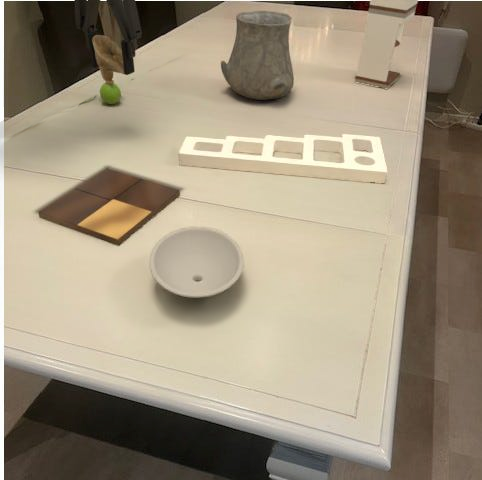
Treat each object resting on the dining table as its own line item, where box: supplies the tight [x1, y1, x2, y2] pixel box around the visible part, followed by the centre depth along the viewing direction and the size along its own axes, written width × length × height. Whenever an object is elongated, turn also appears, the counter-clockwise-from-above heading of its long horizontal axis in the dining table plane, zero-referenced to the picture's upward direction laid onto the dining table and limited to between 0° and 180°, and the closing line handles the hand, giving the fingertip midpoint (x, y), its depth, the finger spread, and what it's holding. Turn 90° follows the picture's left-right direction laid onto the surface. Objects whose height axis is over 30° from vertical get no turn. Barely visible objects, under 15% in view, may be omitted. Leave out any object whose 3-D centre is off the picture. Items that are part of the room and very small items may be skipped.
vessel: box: [220, 10, 295, 101], centre depth 133 cm, size 22×22×20 cm
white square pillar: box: [354, 0, 419, 90], centre depth 141 cm, size 11×11×35 cm
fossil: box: [92, 34, 125, 75], centre depth 105 cm, size 9×4×10 cm
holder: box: [178, 133, 388, 184], centre depth 111 cm, size 45×18×3 cm, turn 83°
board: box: [37, 167, 181, 246], centre depth 92 cm, size 18×20×1 cm
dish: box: [148, 225, 245, 299], centre depth 75 cm, size 18×14×5 cm
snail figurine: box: [98, 66, 122, 105], centre depth 127 cm, size 5×6×12 cm
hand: (113, 69), depth 107 cm, fingers closed on fossil, 8 cm apart
